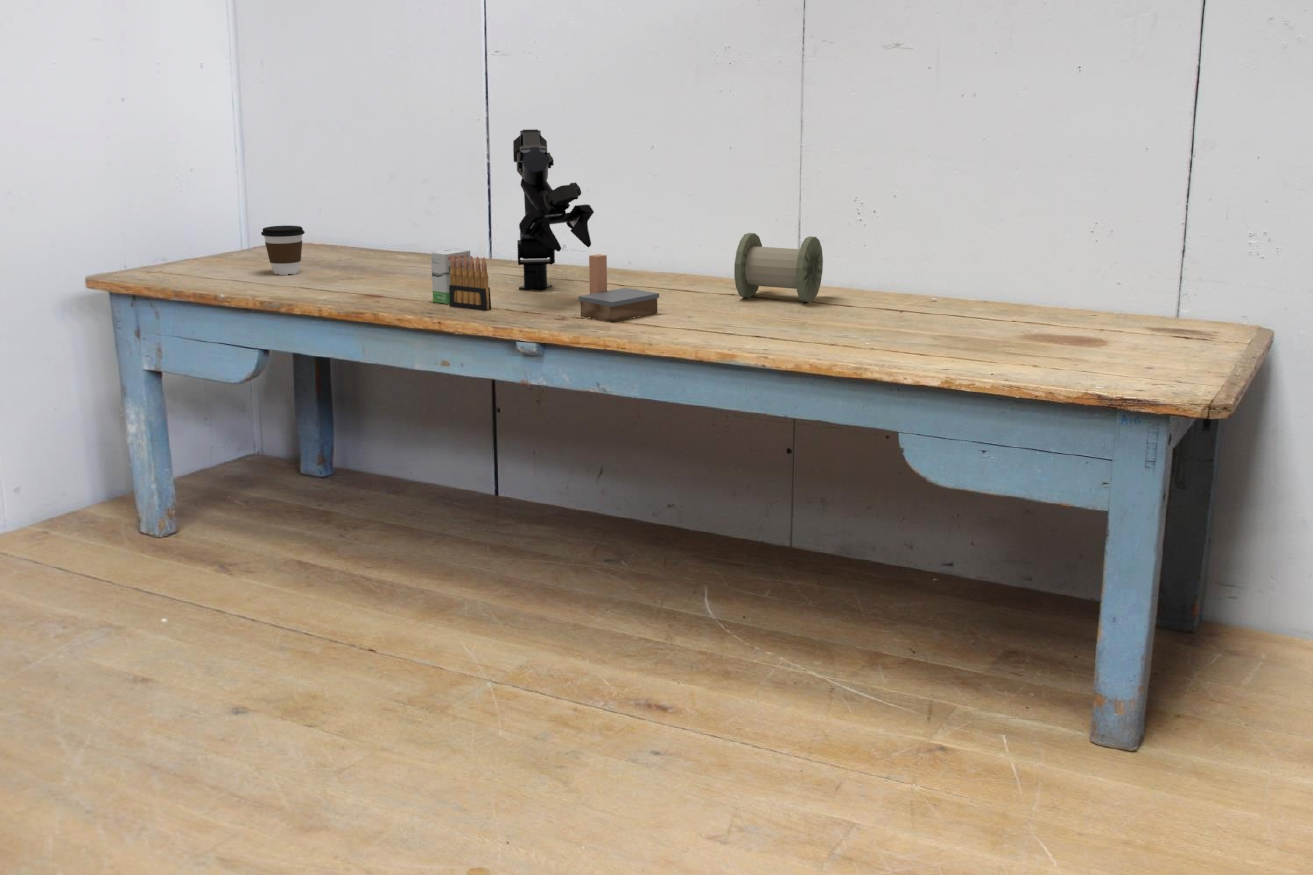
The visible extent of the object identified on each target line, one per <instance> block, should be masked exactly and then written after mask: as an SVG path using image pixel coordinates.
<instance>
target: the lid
mask: <svg viewBox="0 0 1313 875" xmlns="http://www.w3.org/2000/svg"><path fill="white" fill-rule="evenodd" d="M607 257H608V256H607V254H601V253H597V254H590V255H589V256H588V265H589V266H588V267H589V270H588V271H589V277H588V279H589V293H588V294H583V295H578V298H577V299H578V301H579V302H580V301H584V302H589V303H595V304H600V305H606V306H611V307H614V306H619V305H624V304H629V303H635V302H640V301H645V300H650V299H655V298H657V299H660V293H659V292H654V291H647V290H642V289H641V290H640V289H635V288H630V287H629V288H628V287H622V288H618V289H617V288H616V289H612V290H611V289H610V290H608V274H607V273H608V265H607V262H608V261H607V260H608V258H607Z"/></svg>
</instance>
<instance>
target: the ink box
mask: <svg viewBox="0 0 1313 875" xmlns="http://www.w3.org/2000/svg"><path fill="white" fill-rule="evenodd" d="M452 254H453V255H454V257H455V262H456V271H457V258H458V255H460V257H461V261H462V270H463V259H464V256H465V255H466V257H467V260H468V268H469V261H470V257H471V250H469V249H463V248H447V249H441V250H433V251H432V252H431V253H430V261H431V264H430V265H431V266H430V267H431V284H432V285H431V286H432V288H431V289H432V302H433V303H438V304H443V305H444V304H445V305H449V285H450V270H451V256H452Z"/></svg>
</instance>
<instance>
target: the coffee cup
mask: <svg viewBox="0 0 1313 875" xmlns="http://www.w3.org/2000/svg"><path fill="white" fill-rule="evenodd" d="M305 233H306V232H305V230H304V229H303V227H302V226H301V225H272V226H267V227H263V228H262V231H261V236H263V237H264V243H265V248H266V251H267V256H268V260H269V263H270V265H271V269H272V272H273V273H274V275H275V274H279V275H278V276H289V275H288V274H294V275H298V274H299V272H300V268H301V265H300V264H301V261H302V250H303V248H302V247H303V235H304V234H305Z"/></svg>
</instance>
